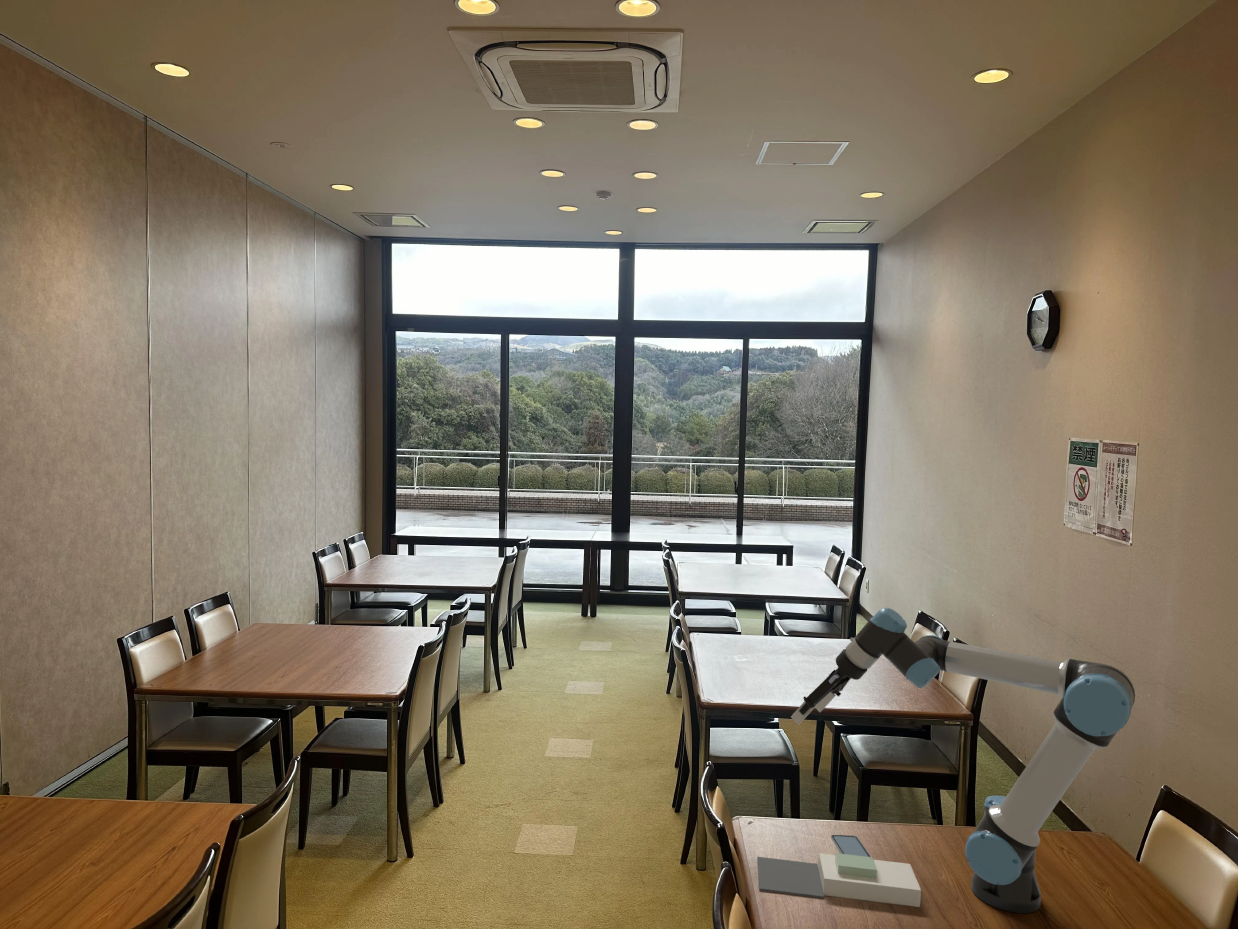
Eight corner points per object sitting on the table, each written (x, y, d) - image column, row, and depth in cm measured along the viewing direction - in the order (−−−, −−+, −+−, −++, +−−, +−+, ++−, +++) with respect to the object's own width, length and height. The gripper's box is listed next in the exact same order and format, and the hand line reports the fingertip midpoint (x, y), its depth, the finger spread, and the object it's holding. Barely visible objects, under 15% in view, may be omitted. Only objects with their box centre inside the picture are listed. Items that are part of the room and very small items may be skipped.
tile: (872, 865, 200) (872, 857, 200) (876, 878, 194) (877, 870, 194) (834, 861, 201) (835, 853, 201) (837, 873, 195) (838, 865, 195)
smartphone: (856, 835, 223) (875, 863, 208) (856, 839, 223) (875, 866, 208) (829, 834, 223) (847, 862, 208) (829, 838, 223) (847, 865, 208)
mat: (817, 865, 206) (817, 863, 206) (824, 898, 191) (824, 896, 191) (757, 858, 208) (757, 856, 208) (759, 890, 193) (759, 888, 193)
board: (908, 879, 202) (909, 864, 202) (919, 907, 190) (921, 890, 190) (818, 868, 205) (818, 853, 205) (823, 895, 193) (824, 878, 193)
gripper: (863, 639, 217) (815, 693, 225) (825, 656, 197) (774, 714, 205) (884, 660, 213) (835, 714, 221) (849, 680, 193) (796, 738, 201)
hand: (805, 714), depth 213 cm, fingers open, 13 cm apart
